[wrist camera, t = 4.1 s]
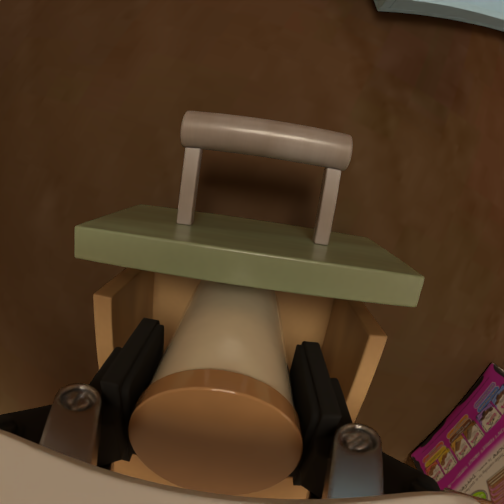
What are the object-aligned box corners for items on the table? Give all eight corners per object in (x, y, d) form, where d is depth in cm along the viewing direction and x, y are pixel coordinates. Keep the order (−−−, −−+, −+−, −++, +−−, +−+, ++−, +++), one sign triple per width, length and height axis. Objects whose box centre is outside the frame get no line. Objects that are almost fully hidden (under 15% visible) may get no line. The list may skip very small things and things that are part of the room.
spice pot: (185, 342, 16) (135, 479, 8) (192, 259, 15) (119, 369, 6) (272, 355, 16) (283, 500, 8) (289, 272, 15) (324, 399, 7)
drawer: (149, 120, 16) (87, 94, 9) (382, 154, 16) (450, 149, 9) (137, 401, 20) (104, 471, 13) (313, 426, 20) (327, 502, 14)
